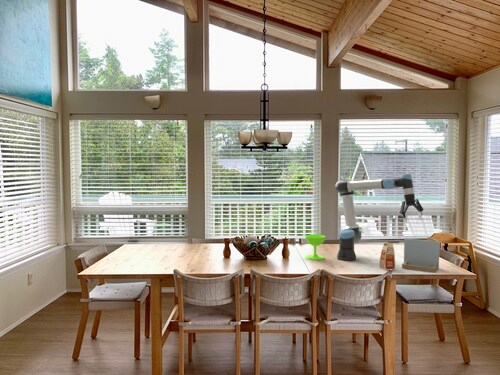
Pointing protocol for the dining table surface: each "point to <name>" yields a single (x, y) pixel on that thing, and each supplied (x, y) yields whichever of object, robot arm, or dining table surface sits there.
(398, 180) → the robot arm
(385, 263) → the milk carton
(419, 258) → the wall board
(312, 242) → the wineglass
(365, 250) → the dining table surface
